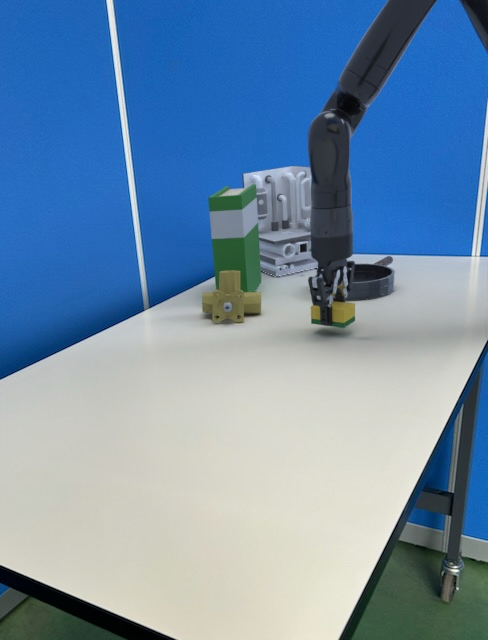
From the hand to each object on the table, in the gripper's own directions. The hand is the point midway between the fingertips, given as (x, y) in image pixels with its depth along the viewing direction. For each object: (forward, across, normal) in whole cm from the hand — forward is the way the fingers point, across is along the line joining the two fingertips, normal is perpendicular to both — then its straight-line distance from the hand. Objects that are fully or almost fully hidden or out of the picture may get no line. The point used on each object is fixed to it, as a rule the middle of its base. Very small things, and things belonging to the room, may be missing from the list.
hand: (333, 320), depth 120 cm
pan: (+3, +28, +9) cm, 29 cm away
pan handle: (+1, +41, +9) cm, 42 cm away
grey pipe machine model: (+3, +42, +36) cm, 55 cm away
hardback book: (+2, +17, +34) cm, 38 cm away
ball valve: (+2, 0, +24) cm, 24 cm away
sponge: (0, 0, 0) cm, 0 cm away
